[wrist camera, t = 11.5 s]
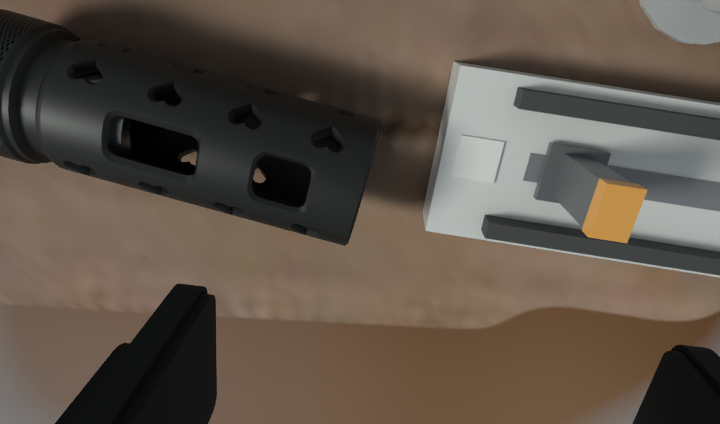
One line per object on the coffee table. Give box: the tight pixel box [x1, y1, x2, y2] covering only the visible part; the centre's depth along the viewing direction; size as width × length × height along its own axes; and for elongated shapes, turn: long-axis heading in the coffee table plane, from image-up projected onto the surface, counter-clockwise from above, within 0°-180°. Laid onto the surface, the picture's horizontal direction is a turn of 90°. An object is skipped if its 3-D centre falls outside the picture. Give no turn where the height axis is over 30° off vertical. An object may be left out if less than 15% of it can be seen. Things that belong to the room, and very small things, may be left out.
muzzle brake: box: [0, 9, 381, 246], centre depth 33 cm, size 10×28×10 cm, turn 75°
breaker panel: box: [423, 61, 720, 277], centre depth 35 cm, size 12×26×4 cm, turn 82°
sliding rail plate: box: [481, 87, 720, 276], centre depth 33 cm, size 10×18×2 cm, turn 82°
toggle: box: [533, 142, 647, 243], centre depth 30 cm, size 4×4×8 cm
